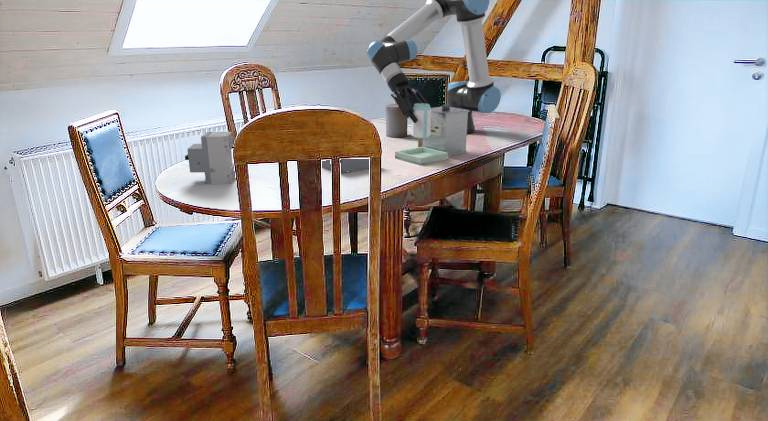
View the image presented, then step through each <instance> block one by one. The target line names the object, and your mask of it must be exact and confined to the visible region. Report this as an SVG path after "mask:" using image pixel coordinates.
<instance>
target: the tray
mask: <svg viewBox="0 0 768 421" xmlns="http://www.w3.org/2000/svg"><path fill="white" fill-rule="evenodd" d="M394 158H395V159H397V160H401V161H403V162H404V161H405V162H408V163H412V164H415V165H418V166H424V165H427V164H432V163H438V162H442V161H447V160H449V157H448V153H447V152H443V151H438V150H434V149H430V148H426V147H418V146H417V147H413V148H408V149H407V148H406V149H403V150H401V149H400V150H396V151H394Z"/></svg>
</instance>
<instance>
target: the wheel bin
mask: <svg viewBox="0 0 768 421" xmlns="http://www.w3.org/2000/svg"><path fill="white" fill-rule="evenodd" d="M340 163H341V173H342V174H344V173H343V172H347V171H352V172H354V171H353V170H357V171H360V170H359V169H362V170H366V169H365V168H367V169H370V168H369V159H341V160H340ZM321 168H324V169H327V170H328V171H329V170H330V171H332V170H331V164H330V160H326V161H322V167H321ZM347 173H348V172H347Z"/></svg>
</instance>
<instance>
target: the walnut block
mask: <svg viewBox="0 0 768 421" xmlns="http://www.w3.org/2000/svg"><path fill="white" fill-rule="evenodd" d="M417 139H418V140H417V141H418V142H417V147H422V145H423V138H417Z"/></svg>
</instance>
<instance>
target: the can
mask: <svg viewBox="0 0 768 421" xmlns="http://www.w3.org/2000/svg"><path fill="white" fill-rule="evenodd" d="M430 106H431V105H430V103H428V104H425V103H417V104H414V103H413V107H412V109H413V111H414V112H416V113H417V115H418V116H419V118H420V119H421V120H422V122H423V123H424V125H425V127H424V128H423V130H422V131H419V129H418V128H417V126H416V125H415V123H414V122H413V121H412V120H411V136H412V137H413V138H414V139H418V138H428V137H429V136H431V110H432V109H431V108H432V106H431V107H430ZM414 112H413V113H414Z"/></svg>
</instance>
